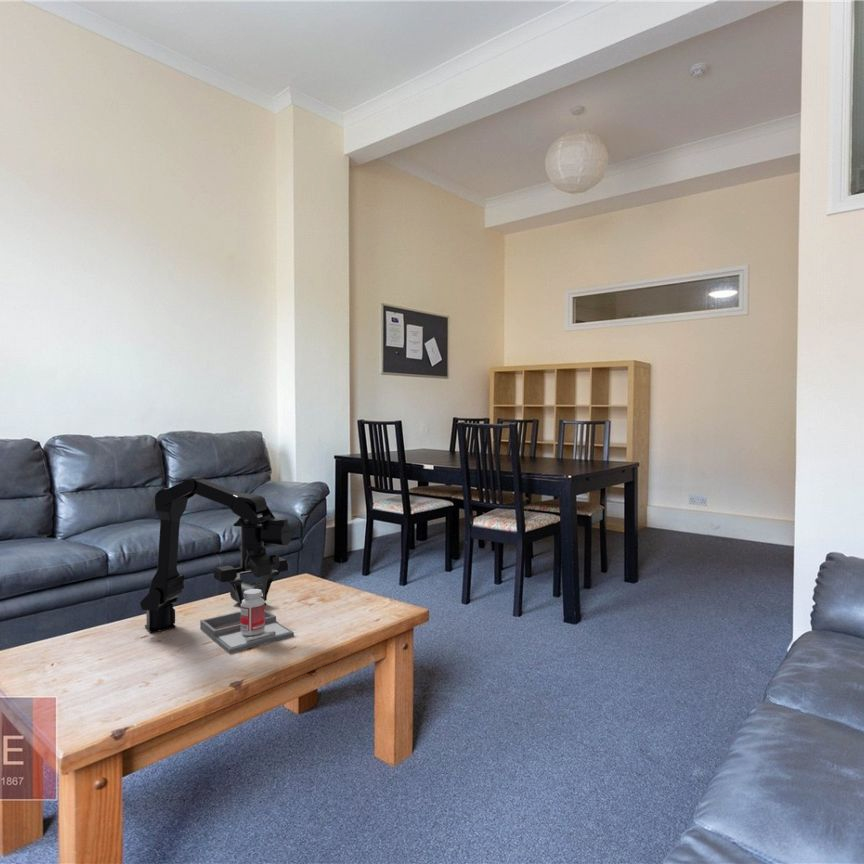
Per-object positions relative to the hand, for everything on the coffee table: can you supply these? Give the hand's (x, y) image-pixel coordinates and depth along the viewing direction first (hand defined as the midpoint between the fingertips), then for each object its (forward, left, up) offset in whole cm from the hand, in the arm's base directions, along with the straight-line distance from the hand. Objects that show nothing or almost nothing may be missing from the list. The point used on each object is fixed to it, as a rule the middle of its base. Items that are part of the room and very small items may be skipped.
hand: (252, 600), depth 152 cm
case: (0, +10, -10) cm, 14 cm away
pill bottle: (0, 0, -9) cm, 9 cm away
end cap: (+10, +27, -10) cm, 30 cm away
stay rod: (0, -5, -9) cm, 10 cm away
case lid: (0, -1, -10) cm, 10 cm away
